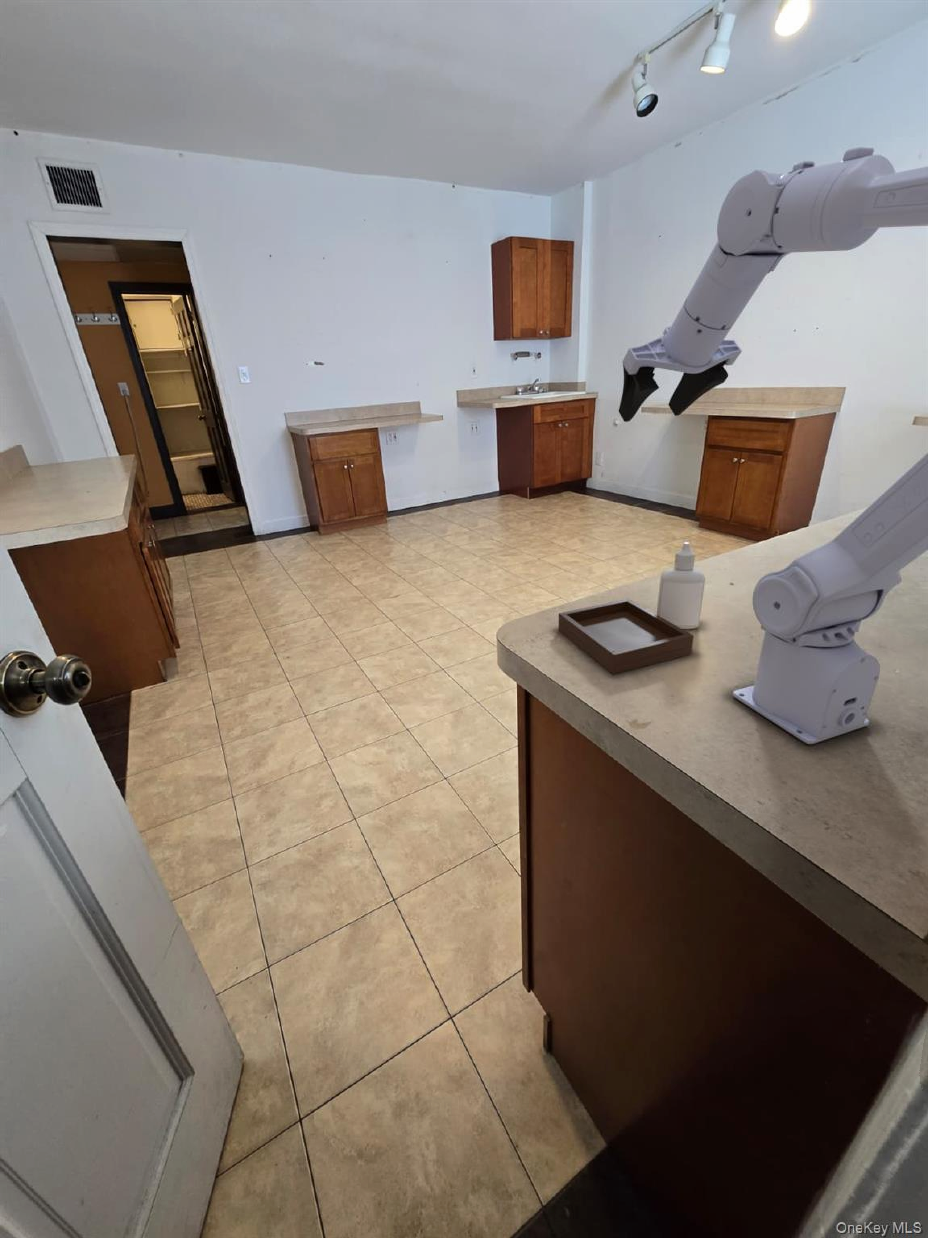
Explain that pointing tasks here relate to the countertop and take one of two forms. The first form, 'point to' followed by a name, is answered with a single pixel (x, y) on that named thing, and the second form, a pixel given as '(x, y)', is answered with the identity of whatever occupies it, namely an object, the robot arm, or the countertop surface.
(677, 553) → the eye dropper bottle
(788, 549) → the countertop surface
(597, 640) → the tray
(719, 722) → the countertop surface
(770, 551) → the countertop surface
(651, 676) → the countertop surface
